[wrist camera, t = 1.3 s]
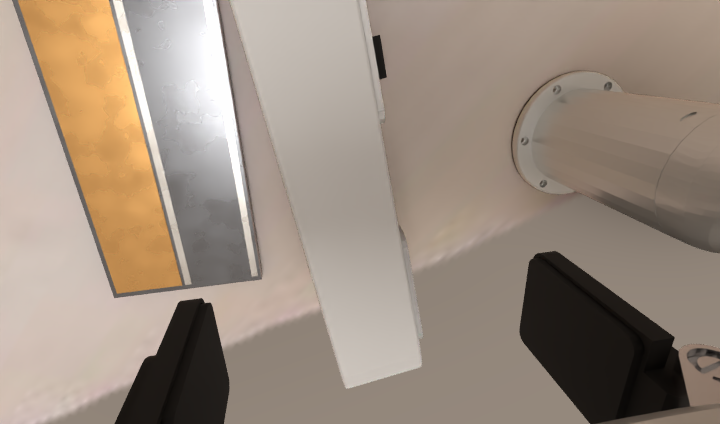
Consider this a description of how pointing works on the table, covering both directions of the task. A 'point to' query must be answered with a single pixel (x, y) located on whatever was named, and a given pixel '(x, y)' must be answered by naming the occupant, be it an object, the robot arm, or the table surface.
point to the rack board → (149, 137)
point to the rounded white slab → (337, 173)
